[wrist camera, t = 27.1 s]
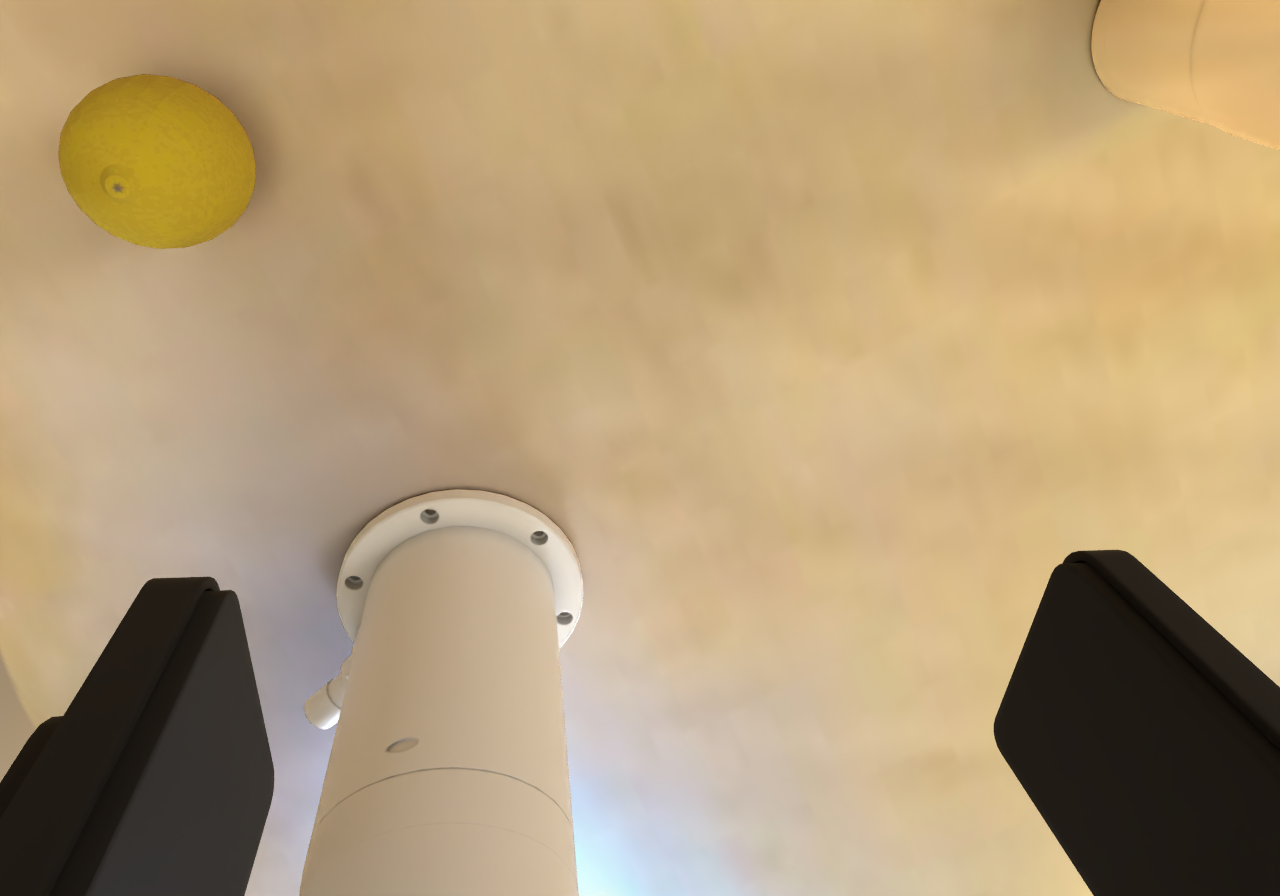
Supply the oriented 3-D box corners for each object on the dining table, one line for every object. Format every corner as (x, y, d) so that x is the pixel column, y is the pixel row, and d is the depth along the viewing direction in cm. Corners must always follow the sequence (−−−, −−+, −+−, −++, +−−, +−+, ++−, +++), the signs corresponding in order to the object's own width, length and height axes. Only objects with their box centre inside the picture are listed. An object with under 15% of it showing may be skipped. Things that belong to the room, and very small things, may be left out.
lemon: (155, 224, 33) (60, 286, 26) (98, 73, 30) (-25, 97, 23) (296, 208, 33) (240, 265, 26) (253, 58, 30) (178, 78, 23)
